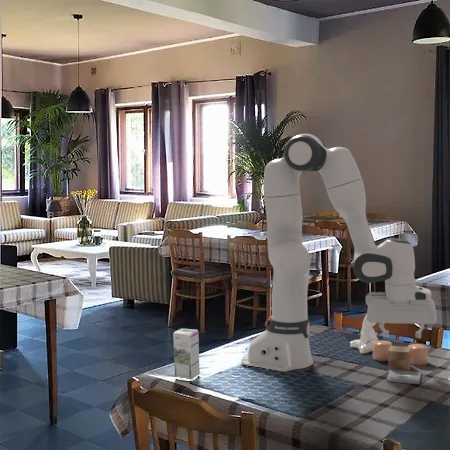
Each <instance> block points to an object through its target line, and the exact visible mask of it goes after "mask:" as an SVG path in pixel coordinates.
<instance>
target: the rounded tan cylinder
mask: <svg viewBox="0 0 450 450" xmlns="http://www.w3.org/2000/svg"><path fill="white" fill-rule="evenodd" d="M390 346H393V343H392V342H391V341H389V340H381V339H380V340H379V339H378V340H377V341H373V342H372V349H373V351H372V359H373V360H375V361H378V362H379V361H380V362H388V350H389V347H390Z"/></svg>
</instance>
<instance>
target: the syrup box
mask: <svg viewBox="0 0 450 450" xmlns="http://www.w3.org/2000/svg"><path fill="white" fill-rule="evenodd" d="M172 334H173V335H172V336H173V339H172V340H173V361H174V364H173V365H174V378H175V377H180V378H186V379H193V378H194V377H196V376H197V375H199V374H200V375H201V372H200V371H201V370H200V369H201V368H200V353H199V352H200V347H199V346H200V345H199V343H200V341H199V340H200V339H199V338H200V337H199V330H198V329H190V328H178V330H175V331H174V332H173V333H172Z"/></svg>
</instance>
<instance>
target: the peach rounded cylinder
mask: <svg viewBox="0 0 450 450" xmlns="http://www.w3.org/2000/svg"><path fill="white" fill-rule="evenodd" d="M407 347H410V365H413V366H425V365H426V366H427V365H428V363H429V347H428V346H427V345H425V344H421V343H414V344H413V343H412V344H409V345H407Z"/></svg>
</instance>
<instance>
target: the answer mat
mask: <svg viewBox="0 0 450 450" xmlns="http://www.w3.org/2000/svg"><path fill="white" fill-rule="evenodd" d="M421 377H422V372H421V371H411V370H409V371H398V370H388V374H387V377H386V382H388V383H389V382H390V383H398V384H399V383H401V384H411V385H412V384H413V385H420V383H421Z"/></svg>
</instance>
